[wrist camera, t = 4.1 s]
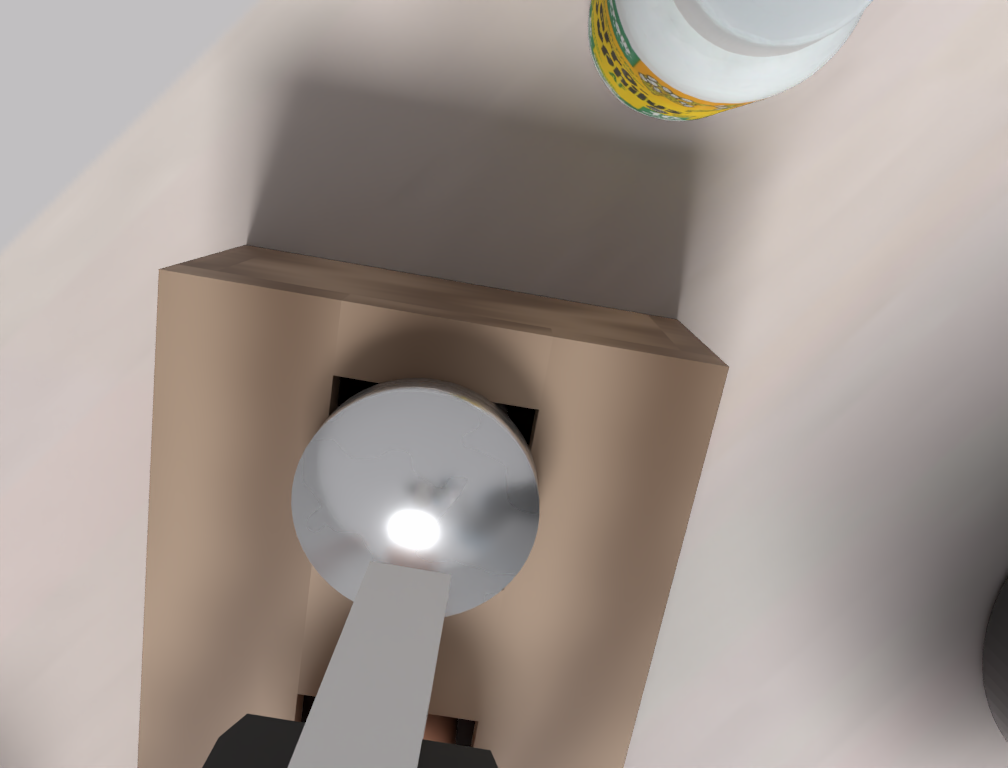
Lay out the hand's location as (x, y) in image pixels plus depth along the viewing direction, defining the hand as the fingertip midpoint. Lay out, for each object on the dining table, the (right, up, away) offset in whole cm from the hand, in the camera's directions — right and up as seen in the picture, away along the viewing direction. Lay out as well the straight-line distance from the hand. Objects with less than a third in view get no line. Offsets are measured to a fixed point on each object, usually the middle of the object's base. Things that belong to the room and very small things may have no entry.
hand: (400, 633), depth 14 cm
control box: (-2, -5, +14) cm, 15 cm away
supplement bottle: (+7, +15, +8) cm, 19 cm away
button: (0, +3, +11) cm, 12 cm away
